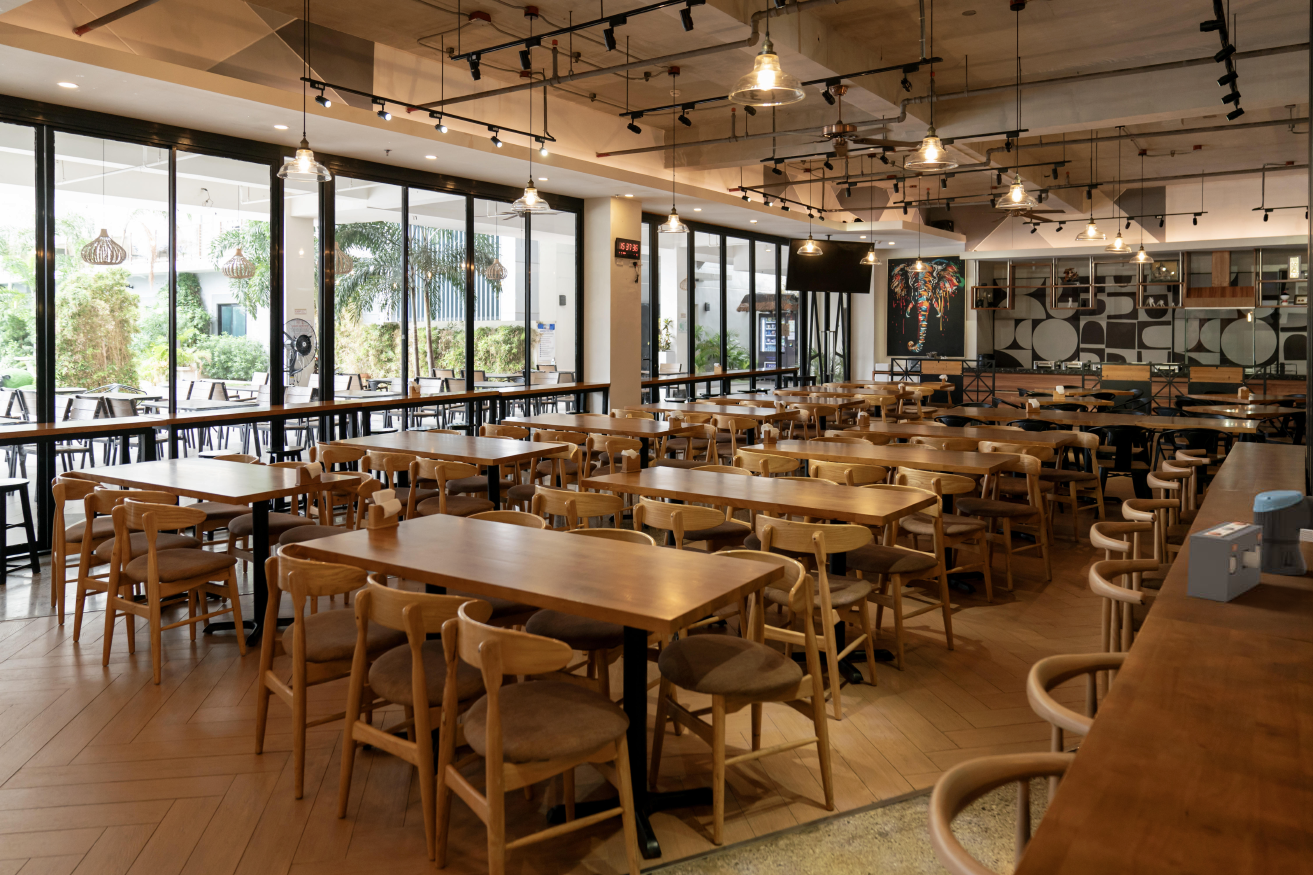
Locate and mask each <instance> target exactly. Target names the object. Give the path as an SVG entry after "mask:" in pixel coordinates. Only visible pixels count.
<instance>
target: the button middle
mask: <svg viewBox="0 0 1313 875" xmlns="http://www.w3.org/2000/svg"><path fill="white" fill-rule="evenodd" d="M1259 563H1260V555H1259V553H1255V552H1247V551H1243V566H1246V567H1253V568H1258V566H1259Z"/></svg>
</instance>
